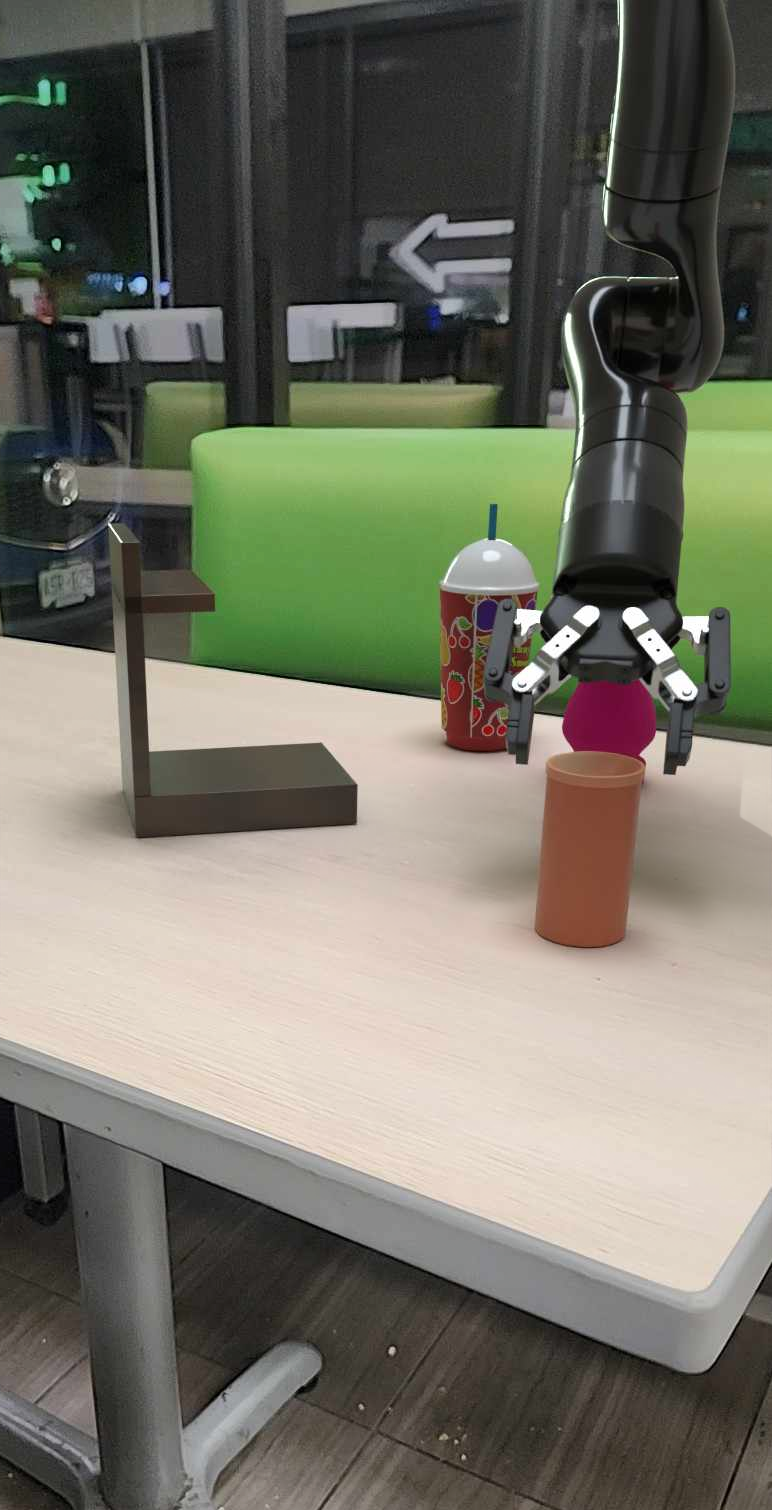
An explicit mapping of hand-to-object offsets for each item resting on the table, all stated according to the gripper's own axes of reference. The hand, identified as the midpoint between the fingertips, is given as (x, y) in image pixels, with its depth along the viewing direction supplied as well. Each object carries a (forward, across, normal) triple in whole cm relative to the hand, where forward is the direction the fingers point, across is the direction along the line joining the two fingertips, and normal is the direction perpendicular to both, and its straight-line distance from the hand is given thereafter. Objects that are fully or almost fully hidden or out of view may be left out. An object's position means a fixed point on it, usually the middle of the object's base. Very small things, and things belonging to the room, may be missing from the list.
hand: (595, 763), depth 77 cm
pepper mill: (-14, 0, +26) cm, 30 cm away
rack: (-4, -26, +17) cm, 31 cm away
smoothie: (-20, -10, +33) cm, 40 cm away
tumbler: (+9, 0, +4) cm, 10 cm away
